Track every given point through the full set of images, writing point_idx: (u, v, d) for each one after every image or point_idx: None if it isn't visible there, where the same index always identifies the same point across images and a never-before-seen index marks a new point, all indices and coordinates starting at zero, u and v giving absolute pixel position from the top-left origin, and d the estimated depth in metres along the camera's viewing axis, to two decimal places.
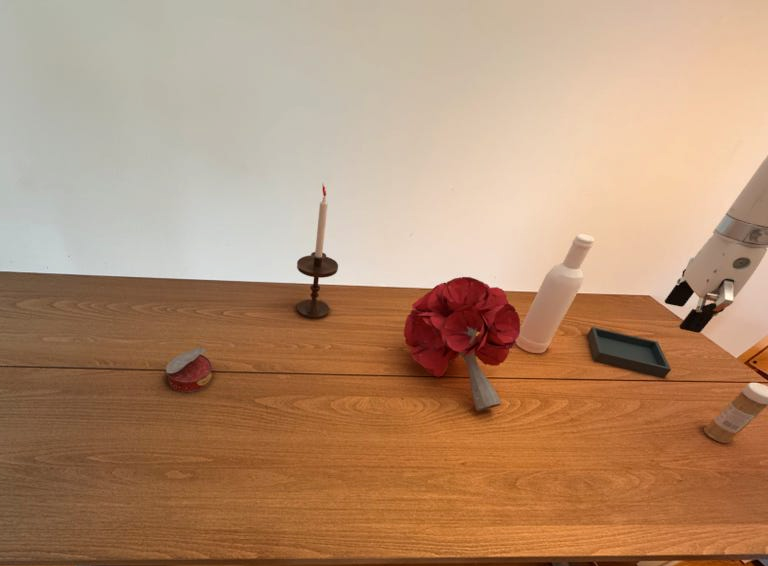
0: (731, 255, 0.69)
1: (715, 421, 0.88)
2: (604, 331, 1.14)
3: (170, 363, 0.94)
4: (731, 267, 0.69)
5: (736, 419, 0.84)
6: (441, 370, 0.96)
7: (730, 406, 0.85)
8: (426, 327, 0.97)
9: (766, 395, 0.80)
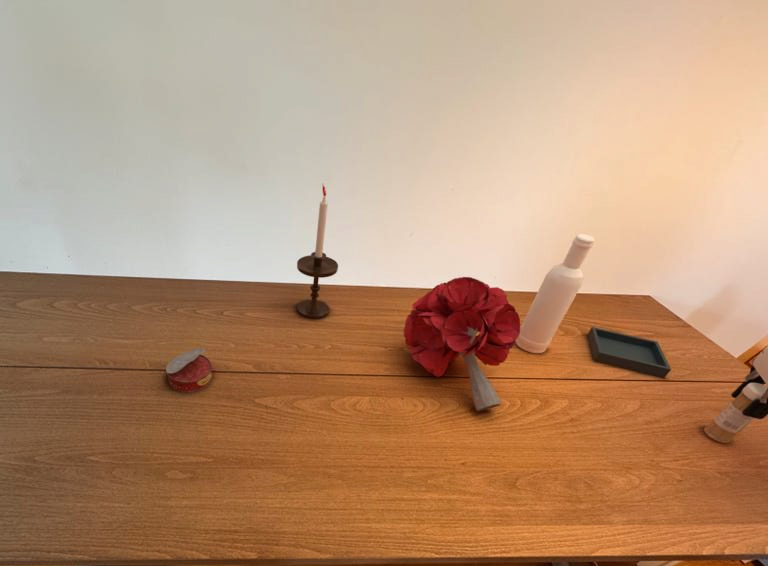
0: None
1: (715, 421, 0.88)
2: (604, 331, 1.14)
3: (170, 363, 0.94)
4: None
5: (736, 419, 0.84)
6: (441, 370, 0.96)
7: (730, 406, 0.85)
8: (426, 327, 0.97)
9: None
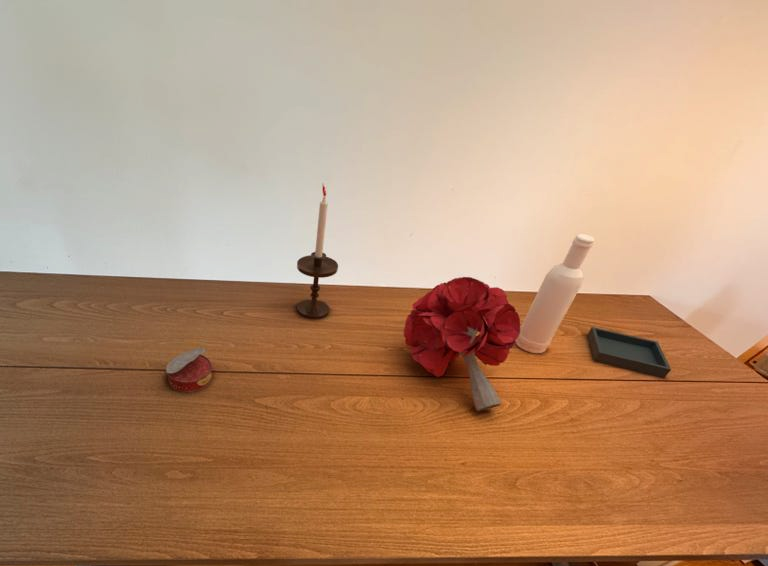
0: None
1: (767, 355, 0.79)
2: (604, 331, 1.14)
3: (170, 363, 0.94)
4: None
5: None
6: (441, 370, 0.96)
7: None
8: (426, 327, 0.97)
9: None
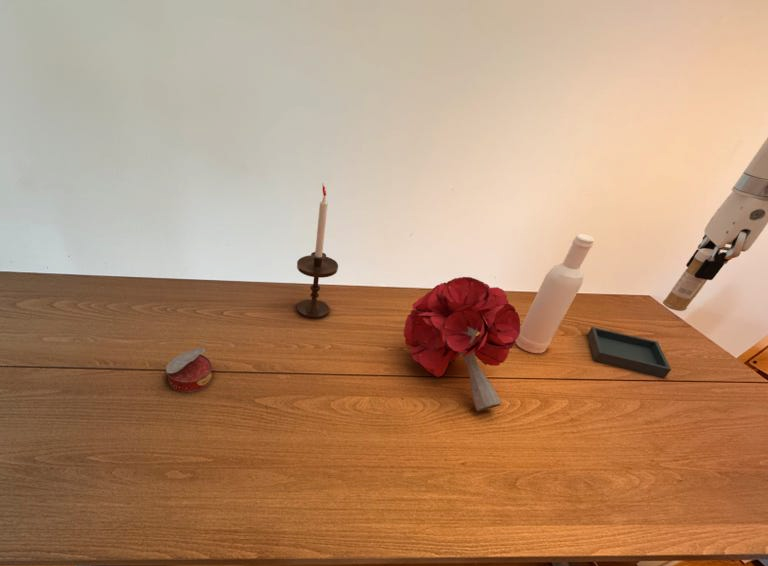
0: (748, 207, 0.79)
1: (671, 291, 0.95)
2: (604, 331, 1.14)
3: (170, 363, 0.94)
4: (748, 218, 0.80)
5: (689, 284, 0.92)
6: (441, 370, 0.96)
7: (684, 273, 0.93)
8: (426, 327, 0.97)
9: None
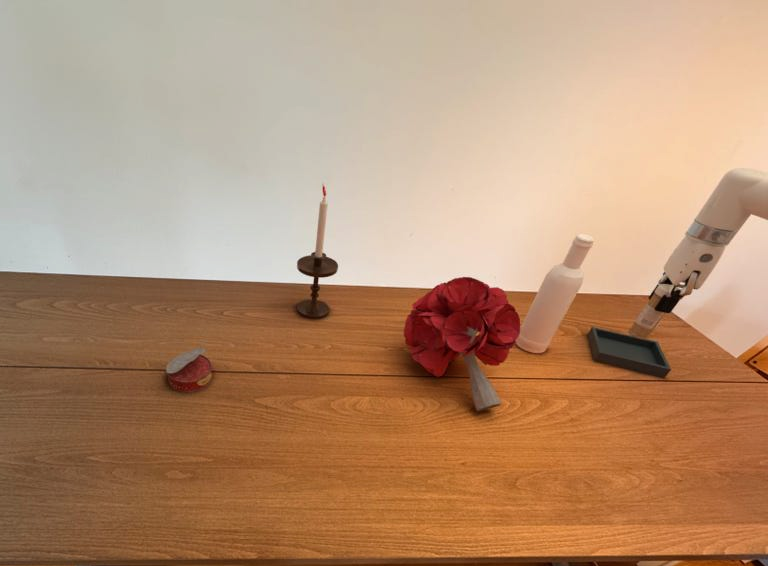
0: (698, 251, 0.88)
1: (635, 321, 1.04)
2: (604, 331, 1.14)
3: (170, 363, 0.94)
4: (698, 261, 0.89)
5: (650, 316, 1.01)
6: (441, 370, 0.96)
7: (646, 305, 1.02)
8: (426, 327, 0.97)
9: None
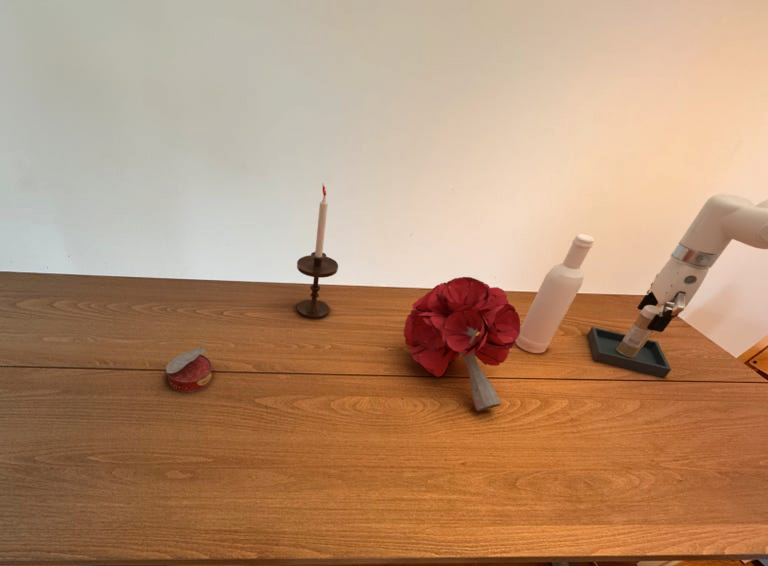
0: (682, 273, 0.92)
1: (623, 340, 1.08)
2: (604, 331, 1.14)
3: (170, 363, 0.94)
4: (683, 282, 0.92)
5: (637, 335, 1.04)
6: (441, 370, 0.96)
7: (633, 325, 1.05)
8: (426, 327, 0.97)
9: (656, 313, 1.00)
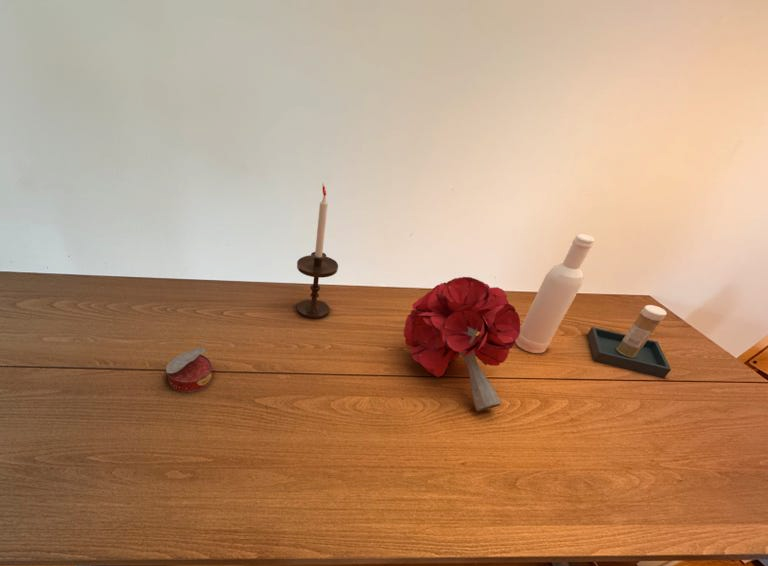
0: None
1: (623, 340, 1.08)
2: (604, 331, 1.14)
3: (170, 363, 0.94)
4: None
5: (637, 335, 1.04)
6: (441, 370, 0.96)
7: (633, 325, 1.05)
8: (426, 327, 0.97)
9: (656, 313, 1.00)
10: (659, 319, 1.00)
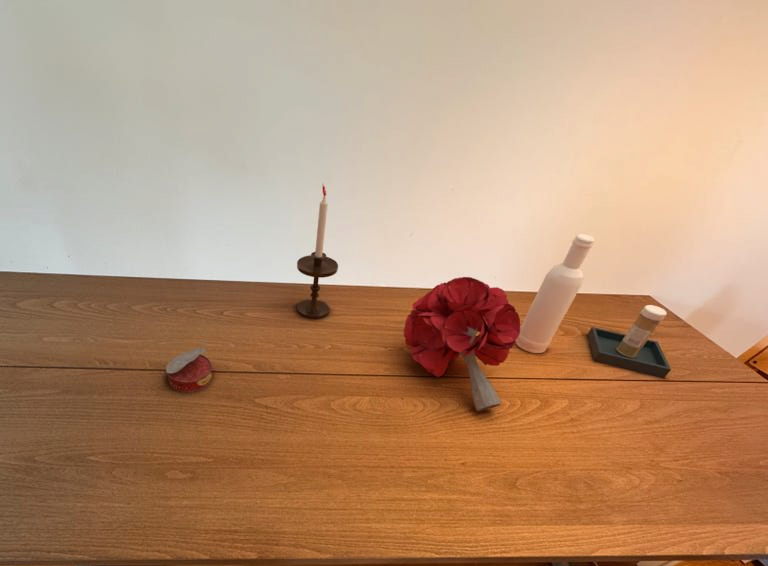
0: None
1: (623, 340, 1.08)
2: (604, 331, 1.14)
3: (170, 363, 0.94)
4: None
5: (637, 335, 1.04)
6: (441, 370, 0.96)
7: (633, 325, 1.05)
8: (426, 327, 0.97)
9: (656, 313, 1.00)
10: (659, 319, 1.00)
